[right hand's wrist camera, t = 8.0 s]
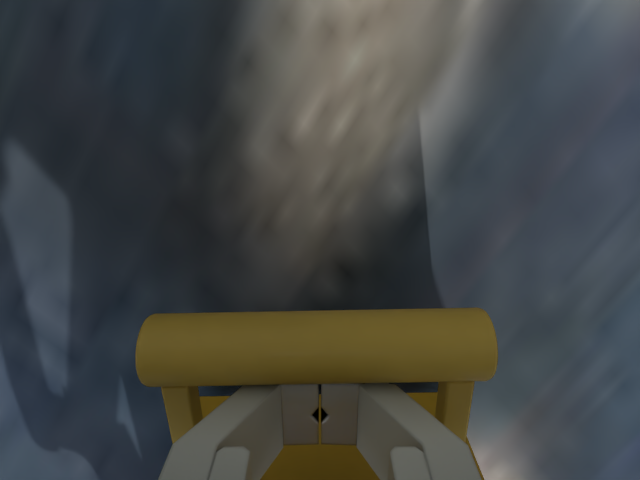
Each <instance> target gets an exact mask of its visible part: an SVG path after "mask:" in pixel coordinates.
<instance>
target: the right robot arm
mask: <svg viewBox="0 0 640 480" xmlns="http://www.w3.org/2000/svg"><path fill="white" fill-rule="evenodd" d="M314 444H319V384H287V385H243V386H242V387H241V388H239V389H238V390H237V391H236V392H235V393H233V394H232V395H231V396H230V397H229V398H227V399H226V400H225V401H224V402H223V403H221V404H220V405H219V406H218V407H217V408H215V409H214V410H213V411H212V412H211V413H209V414H208V415H207V416H206V417H205V418H203V419H202V420H201V421H200V422H199V423H197V424H196V425H195V426H194V427H193V428H191V429H190V430H189V431H188V432H187V433H185V434H184V435H183V436H182V437H181V438H179V439H178V440H177V441H176V442H175V443H174V444H172V446H171V449H170V451H169V454H168V456H167V459H166V461H165V464H164V466H163V469H162V471H161V473H160V476H159V478H158V480H260V479H261V478H262V476H263V475H264V473H265V472H266V471H267V469H268V468H269V467H270V465H271V464H272V462H273V461H274V460H275V458H276V457H277V456H278V454H279V453H280V451H281V450H282V449H283V445H314ZM321 444H325V445H357V449H358V450H359V451H360V453H361V454H362V455H363V457H364V458H365V460H366V461H367V462H368V464H369V465H370V466H371V468H372V469H373V471H374V472H375V473H376V475H377V476H378V478H379V479H380V480H482V479H481V476H480V474H479V471H478V469H477V466H476V464H475V461H474V459H473V456H472V454H471V451H470V449H469V446H468V445H467V444H466V443H465V442H464V441H462V440H461V439H460V438H459V437H458V436H456V435H455V434H454V433H453V432H452V431H450V430H449V429H448V428H447V427H446V426H444V425H443V424H442V423H441V422H440V421H439V420H437V419H436V418H435V417H434V416H433V415H431V414H430V413H429V412H428V411H427V410H425V409H424V408H423V407H422V406H421V405H419V404H418V403H417V402H416V401H415V400H413V399H412V398H411V397H410V396H409V395H407V394H406V393H405V392H404V391H403V390H402V389H400V388H399V387H398V386H397V385H396V384H389V383H343V384H321Z"/></svg>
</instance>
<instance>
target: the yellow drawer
mask: <svg viewBox="0 0 640 480" xmlns="http://www.w3.org/2000/svg"><path fill="white" fill-rule="evenodd" d="M135 360H136V370H137V374H138V377H139V380H140V381H141V383H142V384H143V385H145V386H148V387H161V390H162V395H163V399H164V404H165V409H166V414H167V419H168V424H169V428H170V433H171V438H172V443H173V444H174V443H175V442H176V441H177V440H178V439H179V438H181V437H182V436H183V435H184V434H185V433H187V432H188V431H189V430H190V429H191V428H193V427H194V426H195V425H196V424H197V423H199V422H200V421H201V420H202V419H203V418H205V417H206V416H207V415H208V414H209V413H211V412H212V411H213V410H214V409H215V408H217V407H218V406H219V405H220V404H221V403H223V402H224V401H225V400H226V399H227V398H229V397H230V396H199V391H198V386H230V385H287V384H343V383H400V382H439V384H438V392H424V393H406V394H407V395H409V396H410V397H411V398H412V399H413V400H415V401H416V402H417V403H418V404H419V405H421V406H422V407H423V408H424V409H425V410H427V411H428V412H429V413H430V414H431V415H433V416H434V417H435V418H436V419H437V420H439V421H440V422H441V423H442V424H443V425H444V426H446V427H447V428H448V429H449V430H450V431H452V432H453V433H454V434H455V435H456V436H458V437H459V438H460V439H461V440H462V441H464V442H465V443H466V444H467V445H468V446H469V449H470V451H471V454H472V456H473V459H474V461H475V464H476V466H477V469H478V471H479V474H480V476H481V479H482V480H484V478H483V475H482V473H481V471H480V468H479V466H478V463H477V461H476V458H475V456H474V453H473V451H472V448H471V446H470V444H469V441H468V439H467V436H466V435H467V428H468V421H469V415H470V408H471V402H472V395H473V388H474V381H487V380H490V379H491V378H492V377H493V376H494V374H495V372H496V368H497V362H498V347H497V339H496V334H495V330H494V326H493V324H492V321H491V319H490V317H489V315H488V314H487V313H486V311H484V310H483V309H480V308H433V309H379V310H325V311H270V312H216V313H162V314H153V315H150V316H149V317H147V318H146V320H145V321H144V323H143V324H142V326H141V329H140V332H139V335H138V339H137V344H136V357H135ZM260 480H380V479H379V478H378V476H377V475H376V473H375V472H374V471H373V469H372V468H371V466H370V465H369V464H368V462H367V461H366V460H365V458H364V457H363V455H362V454H361V453H360V451H359V450H358V449H357V445H325V444H321V394H319V444H314V445H283V449H282V450H281V451H280V453H279V454H278V456H277V457H276V458H275V460H274V461H273V462H272V464H271V465H270V467H269V468H268V469H267V471H266V472H265V473H264V475H263V476H262V478H261V479H260Z"/></svg>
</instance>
